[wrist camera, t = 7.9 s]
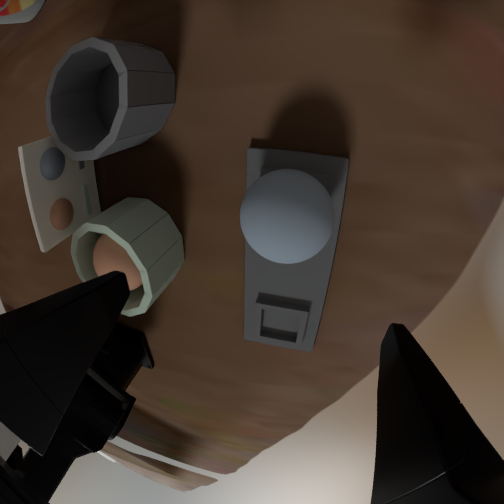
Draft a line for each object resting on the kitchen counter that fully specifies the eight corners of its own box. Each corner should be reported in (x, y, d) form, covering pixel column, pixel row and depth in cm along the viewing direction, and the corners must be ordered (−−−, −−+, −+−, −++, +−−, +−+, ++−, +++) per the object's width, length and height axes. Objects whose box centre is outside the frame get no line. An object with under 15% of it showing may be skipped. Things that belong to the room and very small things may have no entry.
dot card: (103, 214, 23) (46, 253, 17) (97, 214, 23) (41, 251, 17) (91, 125, 18) (23, 146, 13) (85, 126, 19) (18, 147, 13)
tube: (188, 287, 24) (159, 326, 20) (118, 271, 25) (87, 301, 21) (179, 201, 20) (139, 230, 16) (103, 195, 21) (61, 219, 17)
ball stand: (312, 347, 23) (310, 357, 22) (245, 335, 25) (242, 343, 24) (348, 158, 15) (349, 161, 14) (249, 147, 17) (244, 149, 16)
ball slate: (328, 243, 18) (324, 289, 14) (252, 232, 19) (227, 273, 15) (339, 166, 15) (342, 191, 11) (254, 157, 16) (226, 177, 12)
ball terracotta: (170, 273, 23) (139, 310, 19) (123, 264, 24) (90, 295, 20) (162, 217, 21) (124, 249, 16) (113, 212, 21) (73, 240, 17)
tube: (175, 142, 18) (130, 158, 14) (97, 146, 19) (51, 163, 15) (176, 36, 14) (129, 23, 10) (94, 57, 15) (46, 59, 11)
